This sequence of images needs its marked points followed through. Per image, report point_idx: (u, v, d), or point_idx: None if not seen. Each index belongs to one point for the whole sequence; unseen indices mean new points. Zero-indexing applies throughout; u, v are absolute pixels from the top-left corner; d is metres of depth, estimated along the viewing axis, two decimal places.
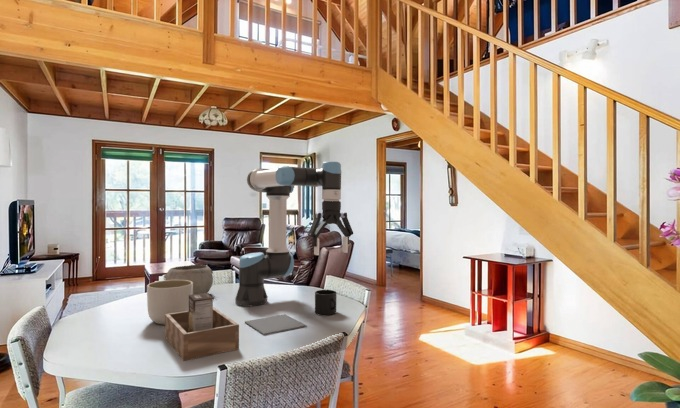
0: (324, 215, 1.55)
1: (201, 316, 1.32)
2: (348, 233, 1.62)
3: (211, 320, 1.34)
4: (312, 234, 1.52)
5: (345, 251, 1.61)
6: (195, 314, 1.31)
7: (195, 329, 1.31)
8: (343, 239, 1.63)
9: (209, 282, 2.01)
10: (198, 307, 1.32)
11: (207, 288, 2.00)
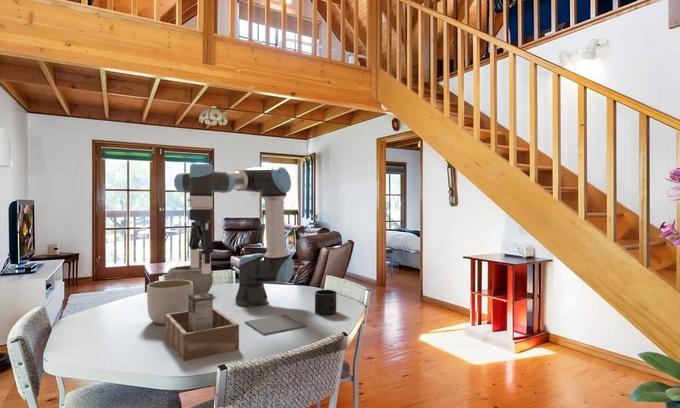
0: None
1: (201, 316, 1.32)
2: (203, 250, 1.29)
3: (211, 320, 1.34)
4: (189, 244, 1.43)
5: None
6: (195, 314, 1.31)
7: (195, 329, 1.31)
8: None
9: (209, 282, 2.01)
10: (198, 307, 1.32)
11: (207, 288, 2.00)
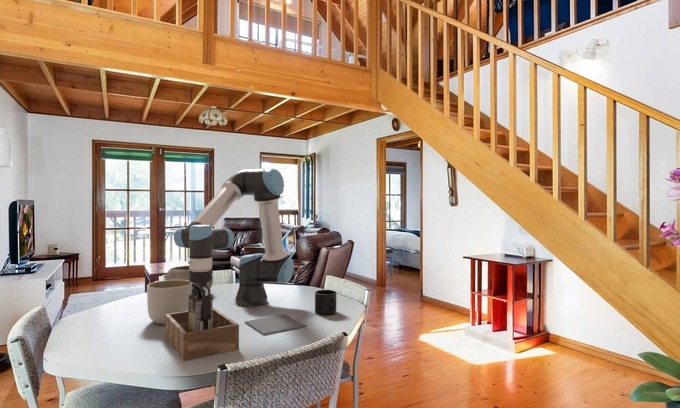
0: None
1: None
2: (202, 317, 1.31)
3: (211, 320, 1.34)
4: None
5: None
6: (195, 314, 1.31)
7: (195, 329, 1.31)
8: None
9: (209, 282, 2.01)
10: (198, 307, 1.32)
11: None
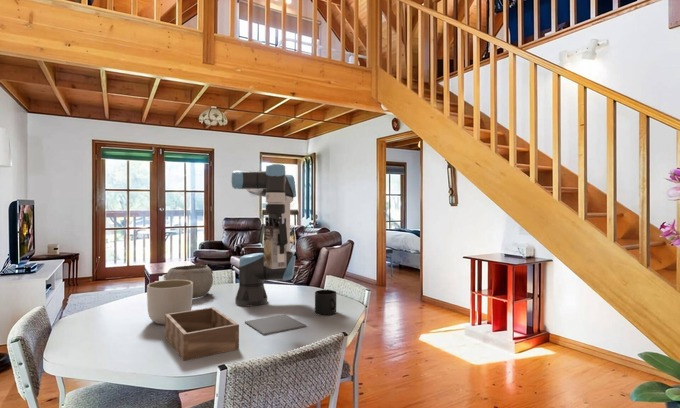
0: (269, 218, 1.59)
1: None
2: (279, 242, 1.51)
3: (285, 246, 1.54)
4: None
5: None
6: (273, 240, 1.51)
7: (273, 253, 1.51)
8: None
9: (209, 282, 2.01)
10: (275, 234, 1.52)
11: (207, 288, 2.00)
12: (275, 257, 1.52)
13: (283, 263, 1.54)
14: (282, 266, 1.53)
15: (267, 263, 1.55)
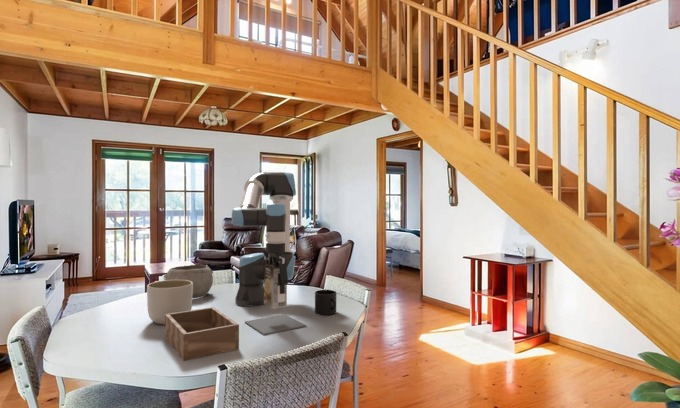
0: (269, 256, 1.59)
1: None
2: (279, 282, 1.51)
3: (286, 285, 1.54)
4: None
5: None
6: (273, 279, 1.51)
7: (273, 293, 1.51)
8: None
9: (209, 282, 2.01)
10: (276, 273, 1.52)
11: (207, 288, 2.00)
12: (275, 297, 1.52)
13: (283, 302, 1.54)
14: (282, 305, 1.53)
15: (267, 302, 1.55)
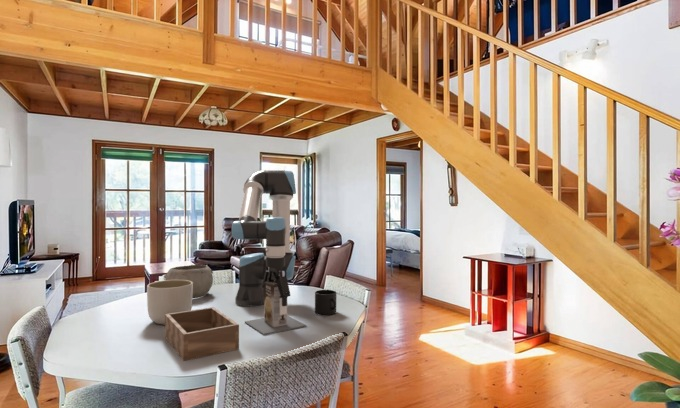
0: (269, 270, 1.59)
1: (279, 300, 1.52)
2: (281, 294, 1.50)
3: None
4: (262, 285, 1.64)
5: None
6: (274, 298, 1.51)
7: (274, 311, 1.51)
8: None
9: (209, 282, 2.01)
10: (276, 292, 1.52)
11: (207, 288, 2.00)
12: (276, 315, 1.52)
13: (284, 320, 1.54)
14: (283, 323, 1.53)
15: (267, 320, 1.55)
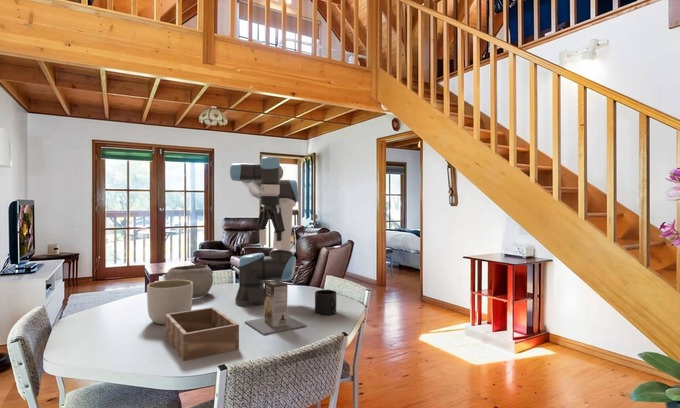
0: (263, 209, 1.65)
1: (279, 300, 1.52)
2: (276, 229, 1.56)
3: (286, 303, 1.54)
4: (257, 225, 1.69)
5: None
6: (274, 298, 1.51)
7: (274, 311, 1.51)
8: None
9: (209, 282, 2.01)
10: (276, 292, 1.52)
11: (207, 288, 2.00)
12: (276, 315, 1.52)
13: (284, 320, 1.54)
14: (283, 323, 1.53)
15: (267, 320, 1.55)
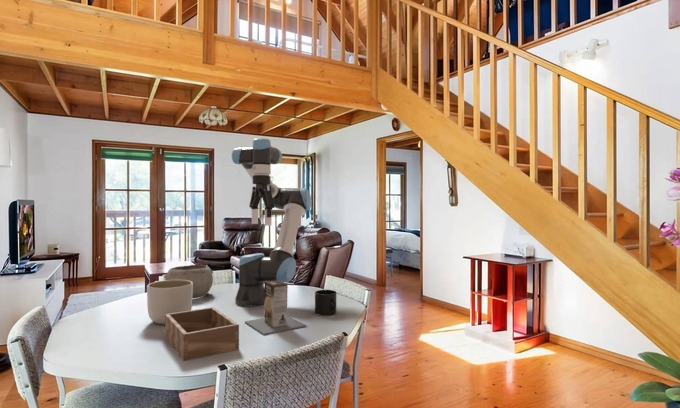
0: None
1: (279, 300, 1.52)
2: (266, 206, 1.63)
3: (286, 303, 1.54)
4: None
5: None
6: (274, 298, 1.51)
7: (274, 311, 1.51)
8: None
9: (209, 282, 2.01)
10: (276, 292, 1.52)
11: (207, 288, 2.00)
12: (276, 315, 1.52)
13: (284, 320, 1.54)
14: (283, 323, 1.53)
15: (267, 320, 1.55)
